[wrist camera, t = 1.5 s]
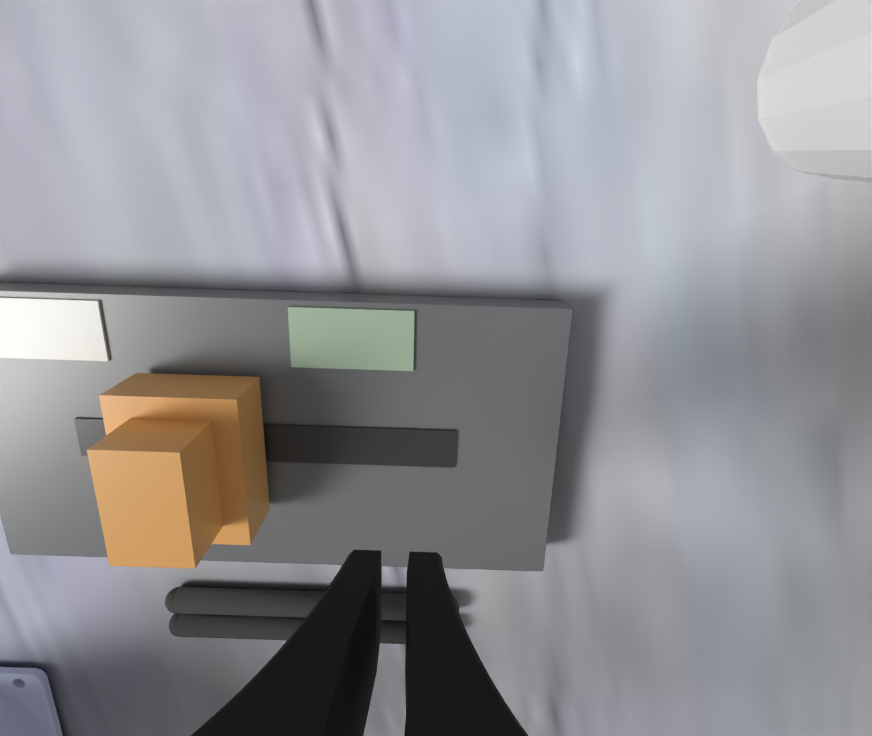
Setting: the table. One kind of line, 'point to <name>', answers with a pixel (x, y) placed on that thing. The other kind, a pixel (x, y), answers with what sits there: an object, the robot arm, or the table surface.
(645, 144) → the table surface
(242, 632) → the cord bundle
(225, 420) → the breaker toggle
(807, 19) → the shot glass
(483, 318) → the breaker panel
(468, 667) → the robot arm
